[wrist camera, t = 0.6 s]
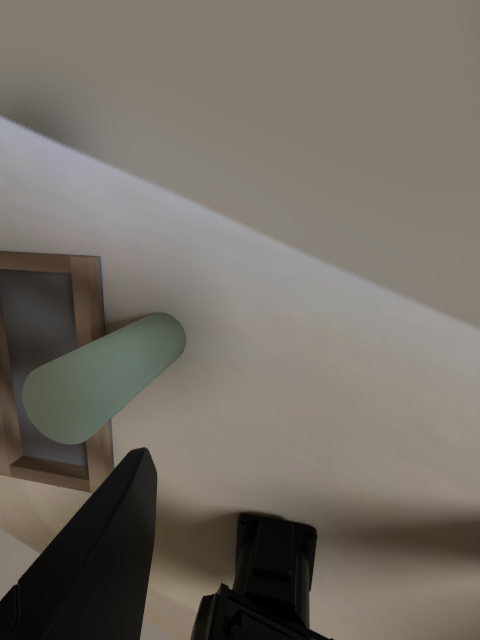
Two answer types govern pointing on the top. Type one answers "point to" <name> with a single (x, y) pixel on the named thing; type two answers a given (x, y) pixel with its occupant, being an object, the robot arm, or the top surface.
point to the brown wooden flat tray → (40, 348)
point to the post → (100, 378)
